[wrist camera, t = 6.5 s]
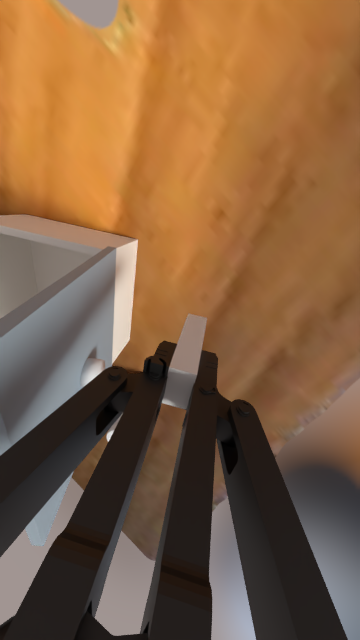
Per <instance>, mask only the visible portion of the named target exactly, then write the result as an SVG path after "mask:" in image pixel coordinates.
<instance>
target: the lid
mask: <svg viewBox="0 0 360 640" xmlns="http://www.w3.org/2000/svg"><path fill="white" fill-rule="evenodd" d="M115 273H116V248H115V247H110V246H108V247H106V248H105V249H103V250H102V251H100V252H99V253H97V254H96V255H94V256H93V257H91V258H90V259H88V260H87V261H85V262H84V263H83V264H81V265H80V266H78V267H77V268H75V269H74V270H72V271H71V272H69V273H68V274H66V275H65V276H63V277H62V278H60V279H59V280H57V281H56V282H54V283H53V284H51V285H50V286H48V287H47V288H45V289H44V290H42V291H41V292H39V293H38V294H36V295H35V296H34V297H32V298H31V299H29V300H28V301H26V302H25V303H23V304H22V305H20V306H19V307H17V308H16V309H14V310H13V311H11V312H10V313H8V314H7V315H5V316H4V317H2V318H1V319H0V455H2V454H3V453H4V452H5V451H7V450H8V449H9V448H10V447H11V446H13V445H14V444H15V443H16V442H17V441H19V440H20V439H21V438H22V437H24V436H25V435H26V434H27V433H28V432H30V431H31V430H32V429H33V428H34V427H36V426H37V425H38V424H39V423H40V422H42V421H43V420H44V419H45V418H47V417H48V416H49V415H50V414H51V413H53V412H54V411H55V410H56V409H57V408H59V407H60V406H61V405H62V404H63V403H65V402H66V401H67V400H68V399H70V398H71V397H72V396H73V395H74V394H76V393H77V392H78V391H79V390H80V389H82V388H83V387H84V386H85V385H87V384H88V383H89V382H90V381H91V380H93V379H94V378H95V377H96V376H97V375H99V374H100V373H101V372H102V371H103V370H105V369H106V368H108V367H112V350H113V324H114V298H115ZM73 472H74V471H73ZM73 472H72V473H71V475H70V476H69V477H68V478H67V479H66V481H65V482H64V483H63V484H62V485H61V486H60V488H59V489H58V490H57V491H56V492H55V493H54V495H53V496H52V497H51V498H50V499H49V501H48V502H47V503H46V504H45V505H44V506H43V508H42V509H41V510H40V511H39V512H38V514H37V515H36V516H35V517H34V518H33V519H32V521H31V522H30V523H29V524H28V525H27V526H26V528H25V529H26V532H27V534H28V537H29V540H30V542H31V545H36V546H44V544H45V541H46V539H47V536H48V534H49V531H50V529H51V526H52V524H53V521H54V519H55V516H56V514H57V511H58V509H59V506H60V504H61V501H62V498H63V496H64V494H65V491H66V489H67V486H68V484H69V481H70V479H71V477H72V474H73Z"/></svg>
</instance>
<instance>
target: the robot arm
mask: <svg viewBox="0 0 360 640" xmlns="http://www.w3.org/2000/svg"><path fill="white" fill-rule="evenodd" d="M206 322H207V318H205V317H201V316H197V315H193V314H189V313H188V316H187V318H186V321H185V324H184V327H183V330H182V332H181V335H180V338H179V341H178V344H175V343H171V342H167V341H163V342H162V343H160V344H159V346H158V348H157V350H156V352H155V354H154V356H150V357H148V358H146V360H145V362H144V369H143V372H142V373H138V374H127V371H126V370H125V369H124V368H122V367H119V366H112V367H108V368H106V369H105V370H103V371H102V372H101V373H100V374H99V375H97V376H96V377H95V378H94V379H93V380H91V381H90V382H89V383H88V384H87V385H85V386H84V387H83V388H82V389H80V390H79V391H78V392H77V393H76V394H74V395H73V396H72V397H71V398H70V399H68V400H67V401H66V402H65V403H63V404H62V405H61V406H60V407H59V408H57V409H56V410H55V411H54V412H53V413H51V414H50V415H49V416H48V417H47V418H45V419H44V420H43V421H42V422H40V423H39V424H38V425H37V426H36V427H34V428H33V429H32V430H31V431H30V432H28V433H27V434H26V435H25V436H24V437H22V438H21V439H20V440H19V441H17V442H16V443H15V444H14V445H13V446H11V447H10V448H9V449H8V450H7V451H5V452H4V453H3V454H2V455H0V557H1V556H2V555H3V553H4V552H5V551H6V550H7V549H8V548H9V546H10V545H11V544H12V543H13V542H14V541H15V539H16V538H17V537H18V536H19V535H20V534H21V532H22V531H23V530H24V529H25V528H26V526H27V525H28V524H29V523H30V522H31V521H32V519H33V518H34V517H35V516H36V515H37V514H38V512H39V511H40V510H41V509H42V508H43V506H44V505H45V504H46V503H47V502H48V501H49V499H50V498H51V497H52V496H53V495H54V493H55V492H56V491H57V490H58V489H59V488H60V486H61V485H62V484H63V483H64V482H65V481H66V479H67V478H68V477H69V476H70V475H71V473H72V472H73V471H74V470H75V469H76V468H77V466H78V465H79V464H80V463H81V462H82V461H83V459H84V458H85V457H86V456H87V455H88V453H89V452H90V451H91V450H92V449H93V448H94V446H95V445H96V444H97V443H98V442H99V441H100V439H101V438H102V437H103V436H104V435H105V433H106V432H107V431H108V430H109V429H110V428H111V426H112V425H113V424H114V423H115V422H116V421H117V419H118V418H119V417H120V416H121V415H122V416H121V418H120V420H119V422H118V424H117V426H116V428H115V430H114V432H113V434H112V436H111V438H110V440H109V442H108V444H107V446H106V448H105V450H104V452H103V454H102V456H101V458H100V460H99V462H98V464H97V466H96V468H95V470H94V472H93V474H92V476H91V478H90V480H89V482H88V484H87V486H86V488H85V490H84V492H83V494H82V496H81V498H80V501H79V503H78V504H77V506H76V508H75V511H74V513H73V515H72V517H71V519H70V521H69V523H68V525H67V526H66V528H65V529H64V531H63V532H62V533H61V534H60V535H59V536H58V537H57V538H56V539H55V541H54V542H53V544H52V546H51V547H50V549H49V551H48V553H47V555H46V557H45V559H44V561H43V562H42V564H41V566H40V568H39V570H38V572H37V574H36V576H35V578H34V580H33V582H32V584H31V586H30V588H29V590H28V592H27V594H26V596H25V598H24V600H23V602H22V604H21V606H20V607H19V609H18V611H17V613H16V615H15V616H13V617H11V618H10V619H9V620H7V621H6V622H4V623H3V624H2V625H0V640H211V626H212V590H211V586H210V582H209V557H210V539H211V520H212V501H213V481H214V462H215V443H216V438H217V443H218V449H219V454H220V459H221V464H222V469H223V474H224V479H225V484H226V489H227V494H228V499H229V504H230V509H231V514H232V519H233V524H234V529H235V534H236V539H237V544H238V549H239V554H240V560H241V565H242V570H243V575H244V580H245V585H246V590H247V595H248V600H249V605H250V610H251V615H252V620H253V625H254V630H255V635H256V640H348V639H347V637H346V634H345V632H344V630H343V627H342V624H341V622H340V619H339V617H338V614H337V612H336V609H335V607H334V604H333V602H332V599H331V597H330V594H329V592H328V589H327V587H326V584H325V582H324V579H323V577H322V575H321V572H320V569H319V567H318V564H317V562H316V560H315V557H314V555H313V552H312V550H311V547H310V545H309V542H308V540H307V537H306V535H305V532H304V530H303V527H302V525H301V522H300V520H299V517H298V515H297V512H296V510H295V507H294V505H293V503H292V500H291V498H290V495H289V492H288V490H287V487H286V485H285V482H284V480H283V477H282V475H281V473H280V470H279V467H278V465H277V463H276V460H275V457H274V455H273V453H272V450H271V448H270V445H269V443H268V440H267V438H266V435H265V433H264V430H263V428H262V425H261V423H260V420H259V418H258V415H257V413H256V411H255V409H254V407H253V406H252V405H251V404H250V403H248V402H246V401H244V400H240V399H239V400H234V401H232V402H231V401H229V400H227V399H225V398H224V397H223V396H222V395H220V393H219V392H218V390H217V386H216V384H217V367H218V358H217V356H216V354H215V353H211V352H207V351H204V350H202V344H203V339H204V333H205V327H206ZM161 403H164V404H168V405H171V406H175V407H178V408H182V409H185V410H187V412H186V415H185V418H184V422H183V425H182V427H183V428H182V433H181V438H180V443H179V448H178V453H177V458H176V463H175V468H174V473H173V478H172V483H171V488H170V493H169V498H168V503H167V507H166V512H165V517H164V522H163V527H162V532H161V537H160V542H159V547H158V552H157V557H156V562H155V567H154V572H153V577H152V582H151V586H150V591H149V595H148V599H147V603H146V608H145V612H144V617H143V621H142V626H141V631H140V634H134V635H122V636H113V635H111V634H110V633H109V632H108V631H107V630H106V629H105V628H104V627H103V626H102V625H101V624H100V623H99V622H98V621H97V620H96V619H95V618H94V617H95V614H96V611H97V608H98V605H99V601H100V598H101V595H102V591H103V587H104V584H105V580H106V577H107V573H108V570H109V567H110V564H111V560H112V557H113V554H114V551H115V548H116V545H117V542H118V539H119V536H120V532H121V529H122V526H123V523H124V520H125V517H126V514H127V511H128V508H129V505H130V502H131V498H132V495H133V492H134V489H135V486H136V483H137V480H138V477H139V474H140V471H141V467H142V464H143V461H144V458H145V455H146V452H147V449H148V446H149V443H150V440H151V436H152V433H153V430H154V427H155V424H156V421H157V418H158V415H159V412H160V407H161ZM122 413H123V414H122Z"/></svg>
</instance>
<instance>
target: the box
mask: <svg viewBox="0 0 360 640" xmlns="http://www.w3.org/2000/svg"><path fill="white" fill-rule="evenodd" d="M137 245H138V240H137V239H133V238H129V237H124V236H120V235H115V234H111V233H107V232H102V231H98V230H93V229H89V228H85V227H80V226H76V225H71V224H67V223H62V222H58V221H54V220H49V219H45V218H40V217H36V216H32V215H27V214H20V215H1V216H0V319H1V318H2V317H4V316H5V315H7V314H8V313H10V312H11V311H13V310H14V309H16V308H17V307H19V306H20V305H22V304H23V303H25V302H26V301H28V300H29V299H31V298H32V297H34V296H35V295H36V294H38V293H39V292H41V291H42V290H44V289H45V288H47V287H48V286H50V285H51V284H53V283H54V282H56V281H57V280H59V279H60V278H62V277H63V276H65V275H66V274H68V273H69V272H71V271H72V270H74V269H75V268H77V267H78V266H80V265H81V264H83V263H84V262H85V261H87V260H88V259H90V258H91V257H93V256H94V255H96V254H97V253H99V252H100V251H102V250H103V249H105V248H106V247H108V246H110V247H115V248H116V273H115V298H114V324H113V350H112V363H113V362H114V361H115V359H116V358H117V357H118V355H119V354H120V352H121V351H122V350H123V348H124V347H125V346H126V344H127V343H128V341H129V340H130V329H131V317H132V305H133V293H134V281H135V269H136V257H137Z"/></svg>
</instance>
